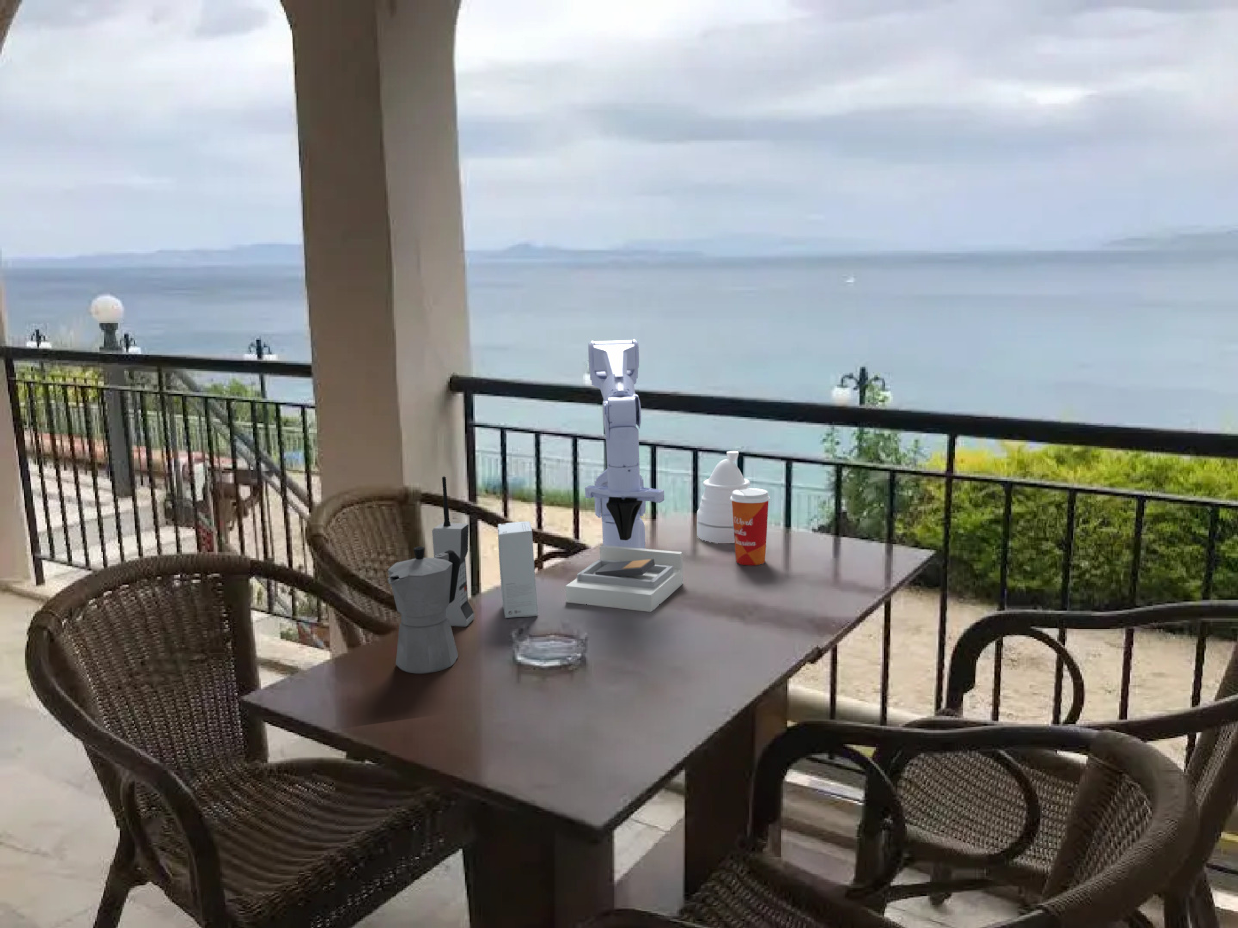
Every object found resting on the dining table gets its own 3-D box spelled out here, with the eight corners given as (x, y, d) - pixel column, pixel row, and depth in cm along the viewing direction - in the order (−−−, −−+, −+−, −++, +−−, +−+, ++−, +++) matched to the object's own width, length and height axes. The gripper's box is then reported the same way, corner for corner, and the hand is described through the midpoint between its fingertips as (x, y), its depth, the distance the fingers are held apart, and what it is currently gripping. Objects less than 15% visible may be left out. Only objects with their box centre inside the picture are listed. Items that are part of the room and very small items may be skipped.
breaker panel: (603, 575, 190) (602, 545, 189) (683, 583, 184) (682, 552, 183) (566, 602, 176) (564, 569, 175) (651, 611, 170) (650, 577, 169)
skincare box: (538, 616, 169) (534, 531, 166) (502, 619, 169) (497, 533, 166) (535, 600, 177) (531, 519, 175) (501, 603, 177) (496, 521, 174)
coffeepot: (422, 683, 143) (413, 562, 140) (373, 672, 148) (363, 554, 144) (487, 647, 156) (481, 535, 153) (440, 637, 161) (432, 529, 158)
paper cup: (723, 559, 198) (722, 490, 196) (756, 553, 201) (756, 485, 199) (744, 569, 191) (744, 498, 189) (778, 563, 194) (778, 493, 192)
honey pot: (726, 524, 224) (725, 445, 221) (769, 535, 215) (769, 452, 211) (684, 536, 216) (683, 453, 213) (728, 547, 207) (727, 461, 203)
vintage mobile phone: (467, 627, 165) (457, 478, 160) (438, 626, 166) (428, 478, 161) (474, 619, 169) (465, 474, 164) (446, 618, 170) (436, 473, 165)
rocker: (609, 569, 184) (608, 562, 184) (655, 565, 180) (653, 558, 180) (596, 578, 178) (595, 571, 178) (642, 574, 175) (641, 567, 175)
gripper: (576, 466, 177) (579, 541, 179) (653, 470, 171) (655, 547, 173) (593, 459, 183) (596, 531, 186) (667, 463, 177) (669, 537, 180)
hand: (625, 538), depth 180 cm, fingers closed
